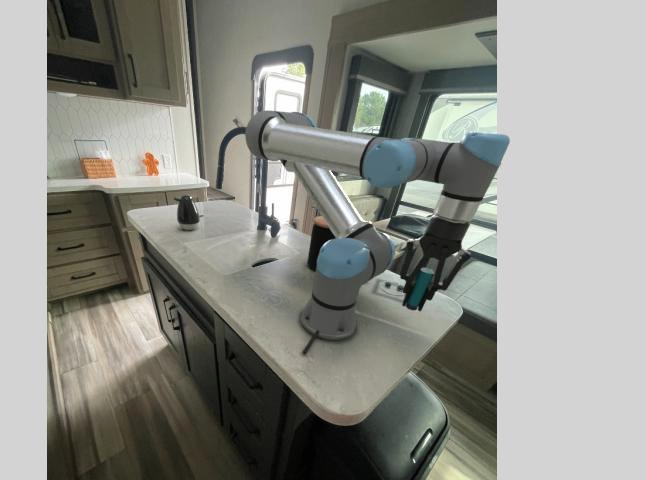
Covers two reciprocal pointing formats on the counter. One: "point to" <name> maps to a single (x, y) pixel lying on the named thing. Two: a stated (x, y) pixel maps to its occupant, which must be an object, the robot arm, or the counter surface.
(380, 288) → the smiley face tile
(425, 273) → the dot marker
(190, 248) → the counter surface
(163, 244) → the counter surface
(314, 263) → the coffee jar
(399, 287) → the eye dot
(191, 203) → the pump dispenser
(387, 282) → the eye dot
